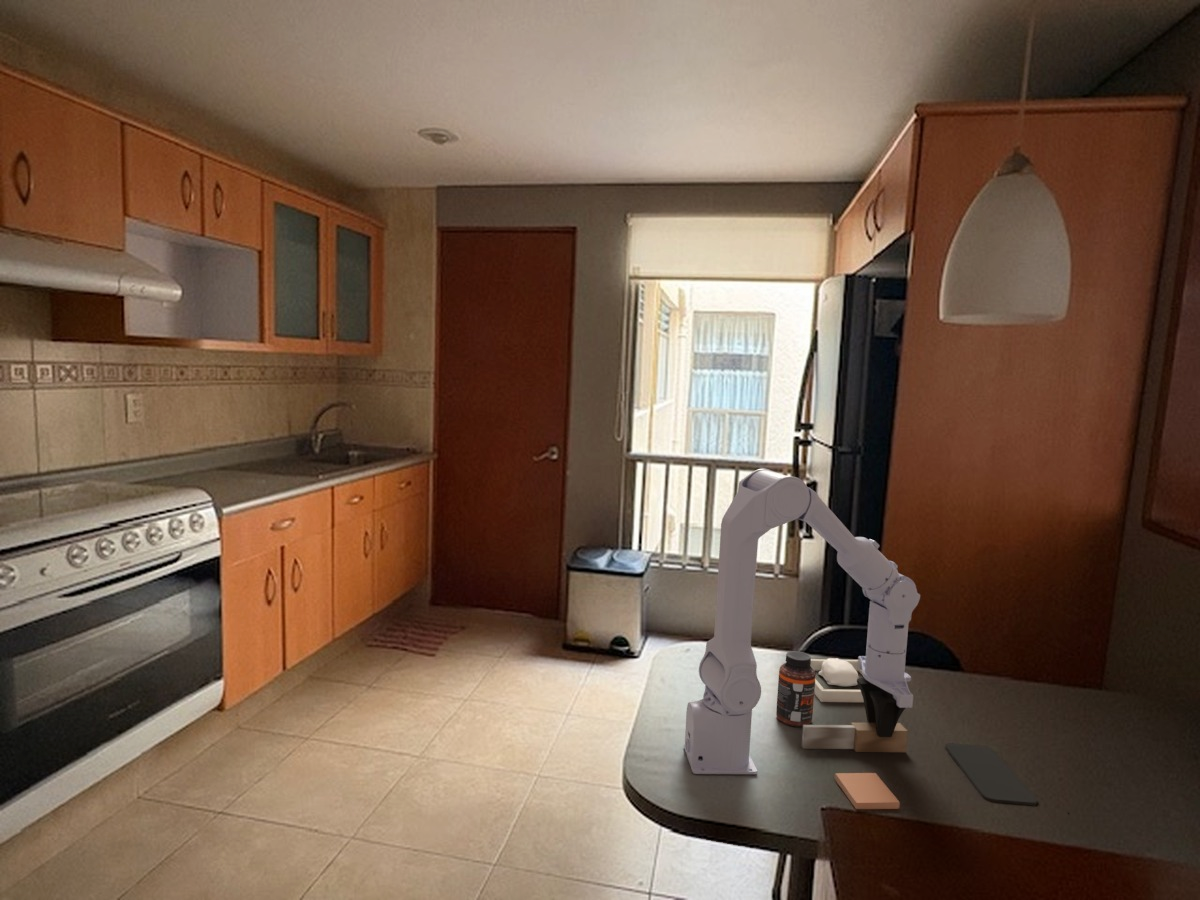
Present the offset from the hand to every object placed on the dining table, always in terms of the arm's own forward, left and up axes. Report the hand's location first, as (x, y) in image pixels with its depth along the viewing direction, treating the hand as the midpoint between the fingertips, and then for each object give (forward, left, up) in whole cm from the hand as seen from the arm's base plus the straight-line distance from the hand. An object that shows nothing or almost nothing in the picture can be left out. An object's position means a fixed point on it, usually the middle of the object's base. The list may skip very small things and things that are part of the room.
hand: (879, 730), depth 109 cm
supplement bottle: (-11, +9, -3) cm, 14 cm away
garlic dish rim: (+3, +23, -3) cm, 23 cm away
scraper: (-4, 0, -3) cm, 5 cm away
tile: (-8, -9, -2) cm, 12 cm away
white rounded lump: (+4, +26, -3) cm, 26 cm away
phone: (+13, -7, -3) cm, 16 cm away
